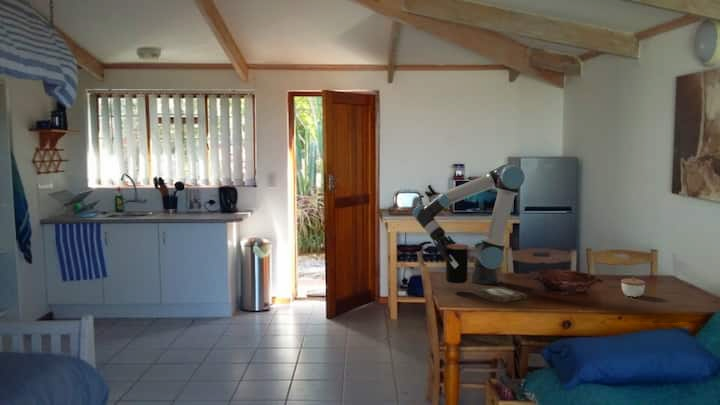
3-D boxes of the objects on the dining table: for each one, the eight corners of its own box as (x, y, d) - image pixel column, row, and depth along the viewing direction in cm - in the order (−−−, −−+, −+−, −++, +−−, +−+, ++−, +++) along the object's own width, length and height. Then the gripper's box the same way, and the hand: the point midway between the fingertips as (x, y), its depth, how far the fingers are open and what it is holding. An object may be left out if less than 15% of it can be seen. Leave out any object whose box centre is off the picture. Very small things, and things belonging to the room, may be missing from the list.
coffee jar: (468, 279, 299) (469, 244, 297) (465, 284, 289) (466, 248, 287) (447, 278, 302) (448, 243, 301) (443, 282, 292) (444, 246, 290)
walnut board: (501, 290, 301) (501, 286, 301) (526, 298, 285) (526, 294, 285) (473, 294, 292) (473, 289, 292) (498, 302, 276) (498, 298, 276)
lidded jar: (621, 297, 290) (622, 278, 289) (619, 292, 300) (621, 274, 299) (645, 299, 286) (646, 280, 285) (643, 294, 296) (644, 276, 295)
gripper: (441, 233, 312) (467, 265, 304) (418, 238, 293) (446, 273, 286) (450, 223, 308) (477, 256, 300) (428, 228, 290) (456, 263, 282)
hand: (462, 264), depth 293 cm, fingers closed on coffee jar, 11 cm apart
